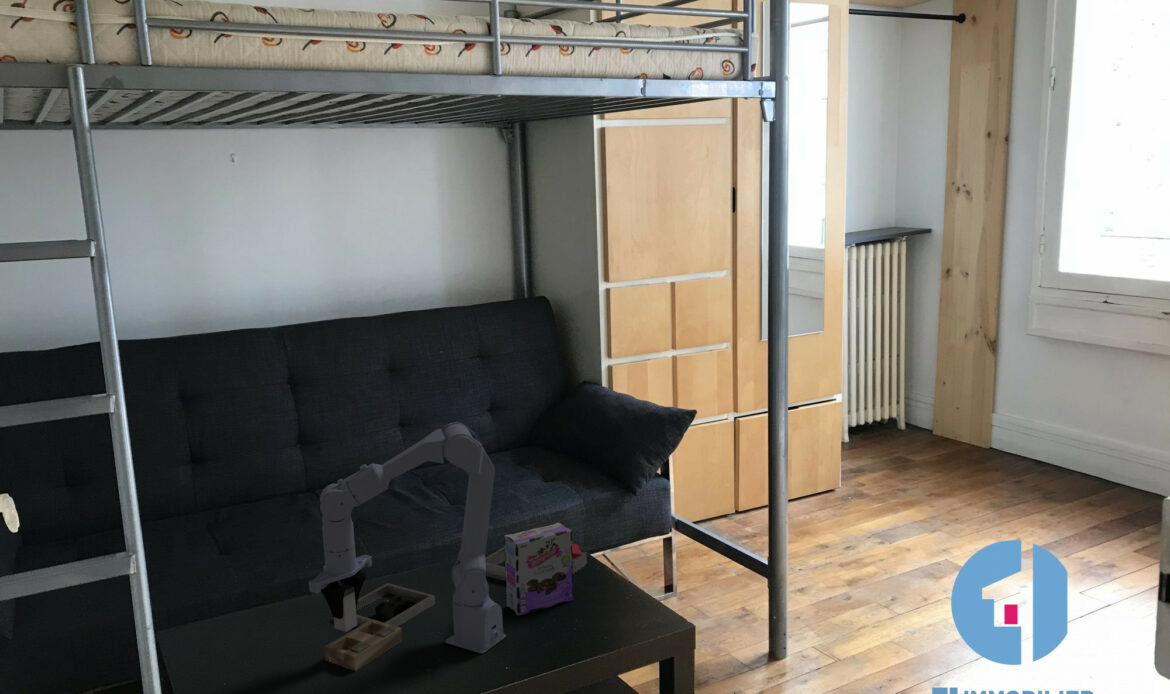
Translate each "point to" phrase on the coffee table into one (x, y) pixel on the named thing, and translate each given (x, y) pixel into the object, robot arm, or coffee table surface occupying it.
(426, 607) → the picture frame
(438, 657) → the coffee table surface
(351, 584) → the robot arm
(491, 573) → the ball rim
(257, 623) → the coffee table surface
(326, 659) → the socket block
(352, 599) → the white upright block
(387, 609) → the gaming controller
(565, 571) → the candy box
